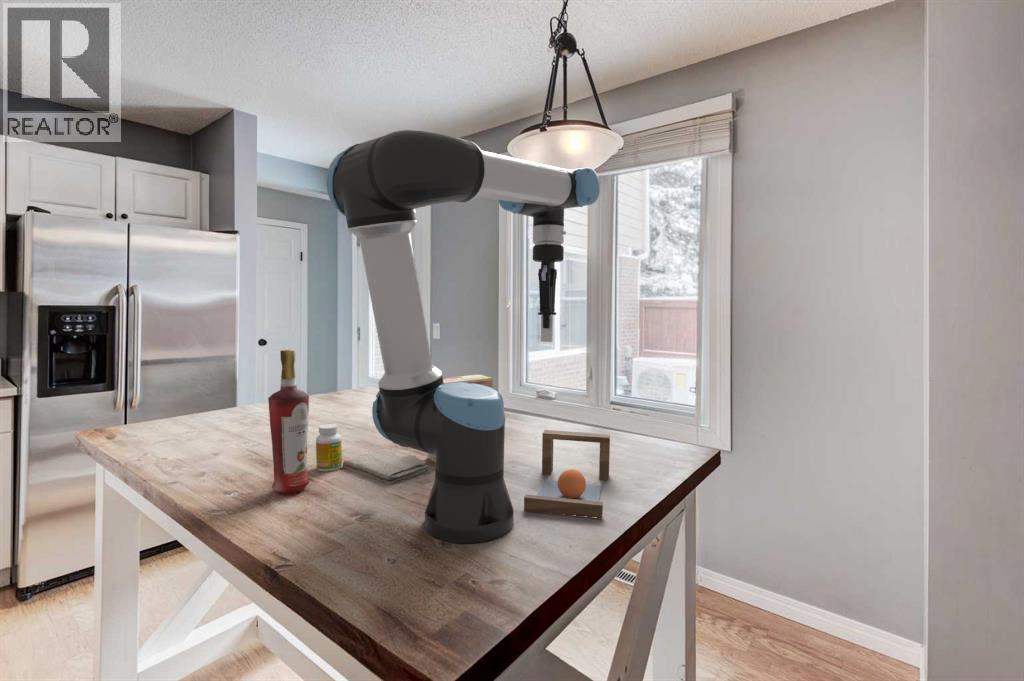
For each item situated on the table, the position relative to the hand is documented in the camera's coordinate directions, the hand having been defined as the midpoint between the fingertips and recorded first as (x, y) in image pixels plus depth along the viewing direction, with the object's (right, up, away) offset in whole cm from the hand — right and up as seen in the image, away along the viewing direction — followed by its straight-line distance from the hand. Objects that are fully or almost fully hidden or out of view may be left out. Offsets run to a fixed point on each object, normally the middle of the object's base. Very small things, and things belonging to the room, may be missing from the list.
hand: (546, 341), depth 122 cm
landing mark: (+3, -30, -24) cm, 39 cm away
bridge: (+5, -29, -13) cm, 33 cm away
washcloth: (-37, -30, -10) cm, 48 cm away
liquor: (-53, -30, -23) cm, 65 cm away
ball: (+3, -28, -26) cm, 38 cm away
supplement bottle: (-50, -29, -10) cm, 59 cm away
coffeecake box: (-21, -29, 0) cm, 36 cm away
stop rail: (+1, -31, -33) cm, 45 cm away
